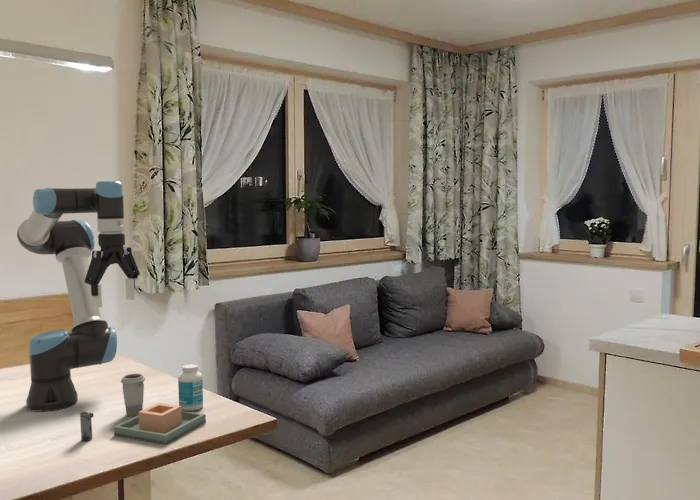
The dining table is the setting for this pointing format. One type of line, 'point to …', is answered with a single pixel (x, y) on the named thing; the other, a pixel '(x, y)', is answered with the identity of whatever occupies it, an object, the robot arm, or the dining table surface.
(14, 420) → the dining table surface
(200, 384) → the pill bottle
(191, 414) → the tray
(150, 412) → the pink open box
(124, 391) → the cup
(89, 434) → the post
